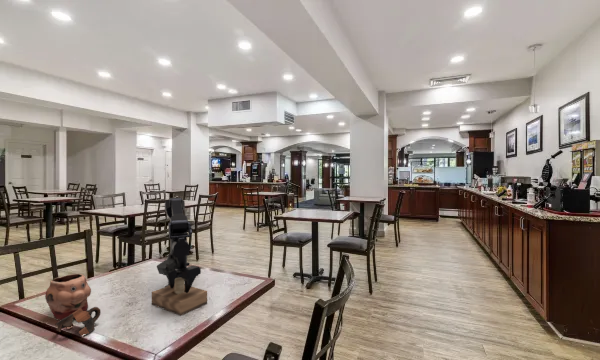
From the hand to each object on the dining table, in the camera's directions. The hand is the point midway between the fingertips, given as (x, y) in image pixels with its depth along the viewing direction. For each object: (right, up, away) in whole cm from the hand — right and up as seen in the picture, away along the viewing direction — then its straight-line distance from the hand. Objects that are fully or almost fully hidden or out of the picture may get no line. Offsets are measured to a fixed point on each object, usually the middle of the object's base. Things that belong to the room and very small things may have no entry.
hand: (179, 290), depth 116 cm
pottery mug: (-24, -6, -20) cm, 32 cm away
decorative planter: (-37, -6, -9) cm, 39 cm away
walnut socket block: (0, -6, 0) cm, 6 cm away
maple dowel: (0, -5, 0) cm, 4 cm away
